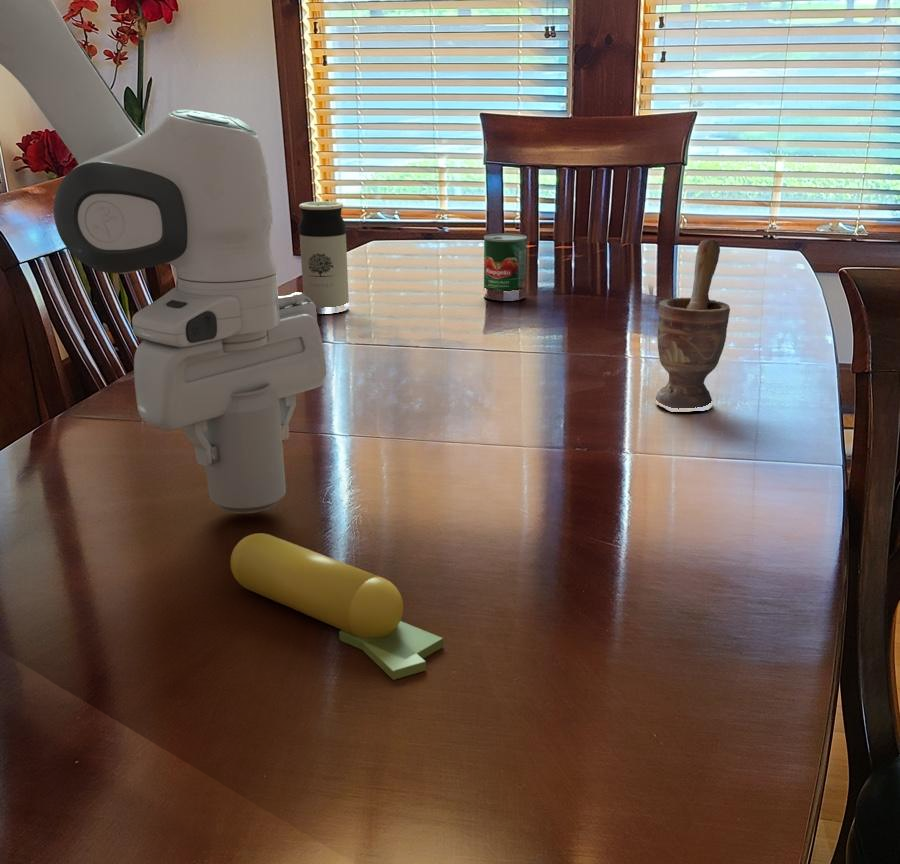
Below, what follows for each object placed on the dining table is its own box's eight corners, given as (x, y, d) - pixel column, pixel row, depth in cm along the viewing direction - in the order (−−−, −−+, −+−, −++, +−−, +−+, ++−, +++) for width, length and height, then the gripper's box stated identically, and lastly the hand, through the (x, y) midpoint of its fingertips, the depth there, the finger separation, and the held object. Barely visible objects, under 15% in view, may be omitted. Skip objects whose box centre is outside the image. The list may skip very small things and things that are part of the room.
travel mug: (316, 304, 197) (310, 200, 189) (356, 307, 194) (352, 202, 186) (296, 313, 190) (289, 205, 182) (337, 316, 188) (332, 207, 180)
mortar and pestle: (644, 389, 147) (656, 236, 138) (708, 390, 146) (725, 236, 137) (655, 415, 136) (669, 251, 127) (724, 415, 136) (743, 251, 127)
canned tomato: (523, 293, 205) (524, 233, 201) (527, 301, 198) (529, 239, 194) (481, 293, 205) (482, 233, 200) (484, 302, 198) (485, 240, 193)
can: (285, 486, 110) (276, 370, 105) (288, 514, 104) (279, 392, 98) (210, 491, 109) (198, 374, 104) (208, 519, 103) (195, 396, 97)
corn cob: (207, 596, 91) (201, 542, 89) (265, 571, 96) (260, 519, 93) (402, 684, 78) (401, 624, 76) (459, 650, 83) (459, 592, 80)
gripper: (291, 285, 107) (300, 420, 113) (115, 320, 93) (136, 472, 99) (336, 293, 103) (343, 432, 109) (159, 331, 89) (179, 488, 95)
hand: (243, 451), depth 104 cm, fingers closed on can, 7 cm apart
